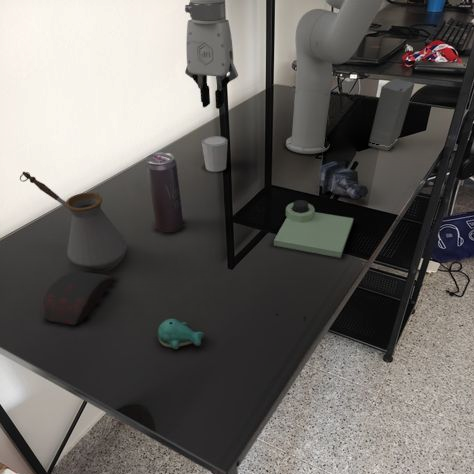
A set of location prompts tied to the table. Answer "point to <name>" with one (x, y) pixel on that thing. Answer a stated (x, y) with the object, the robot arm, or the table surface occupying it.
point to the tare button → (300, 206)
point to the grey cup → (215, 153)
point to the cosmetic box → (390, 113)
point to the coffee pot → (89, 231)
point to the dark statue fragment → (341, 181)
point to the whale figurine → (178, 334)
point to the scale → (314, 232)
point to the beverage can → (165, 191)
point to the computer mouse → (74, 296)
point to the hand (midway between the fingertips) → (212, 105)
